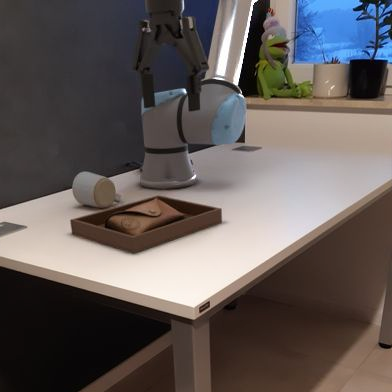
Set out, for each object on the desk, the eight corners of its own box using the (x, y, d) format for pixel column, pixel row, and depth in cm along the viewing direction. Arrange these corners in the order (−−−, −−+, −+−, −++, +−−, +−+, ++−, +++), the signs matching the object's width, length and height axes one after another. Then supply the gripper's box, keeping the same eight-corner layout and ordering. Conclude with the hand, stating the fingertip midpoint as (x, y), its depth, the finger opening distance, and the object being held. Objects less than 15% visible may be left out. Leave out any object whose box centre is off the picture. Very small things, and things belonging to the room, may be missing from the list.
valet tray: (72, 234, 111) (69, 219, 110) (158, 208, 126) (158, 195, 125) (134, 253, 99) (132, 237, 98) (221, 222, 114) (221, 208, 113)
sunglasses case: (138, 238, 103) (121, 206, 102) (116, 251, 108) (99, 221, 107) (188, 215, 117) (174, 186, 115) (166, 227, 121) (152, 200, 120)
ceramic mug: (97, 211, 125) (93, 177, 121) (73, 207, 130) (69, 174, 126) (129, 202, 132) (126, 170, 129) (106, 198, 137) (102, 166, 133)
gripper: (107, -6, 109) (120, 108, 120) (197, -17, 94) (202, 114, 105) (135, -6, 113) (145, 104, 124) (225, -17, 98) (227, 109, 109)
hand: (171, 109), depth 115 cm, fingers open, 13 cm apart
